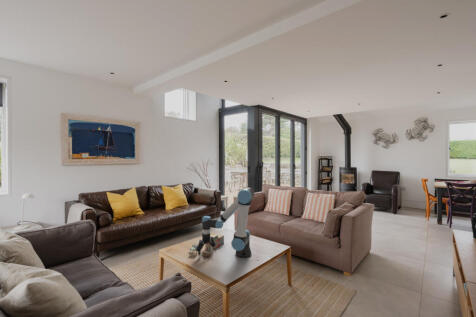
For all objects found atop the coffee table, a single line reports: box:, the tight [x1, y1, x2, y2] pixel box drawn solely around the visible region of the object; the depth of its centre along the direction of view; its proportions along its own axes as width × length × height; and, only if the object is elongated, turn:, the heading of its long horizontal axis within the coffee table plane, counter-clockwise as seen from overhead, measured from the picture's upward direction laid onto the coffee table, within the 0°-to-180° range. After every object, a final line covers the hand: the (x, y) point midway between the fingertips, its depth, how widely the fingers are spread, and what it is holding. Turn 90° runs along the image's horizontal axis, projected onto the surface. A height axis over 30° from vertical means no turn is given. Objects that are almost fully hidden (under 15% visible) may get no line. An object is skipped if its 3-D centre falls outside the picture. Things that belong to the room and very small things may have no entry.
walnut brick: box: [202, 250, 211, 258], centre depth 215 cm, size 6×4×4 cm, turn 46°
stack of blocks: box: [204, 233, 225, 252], centre depth 236 cm, size 21×6×12 cm, turn 143°
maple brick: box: [189, 250, 198, 258], centre depth 216 cm, size 6×4×4 cm, turn 69°
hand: (206, 255), depth 215 cm, fingers open, 13 cm apart
